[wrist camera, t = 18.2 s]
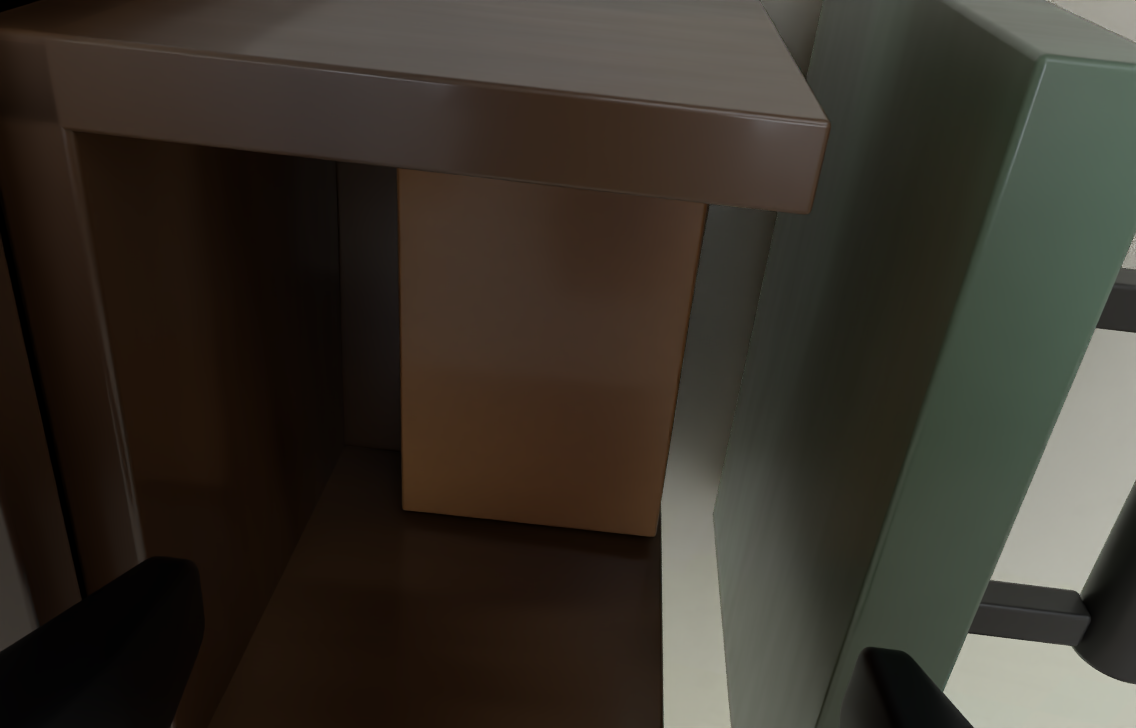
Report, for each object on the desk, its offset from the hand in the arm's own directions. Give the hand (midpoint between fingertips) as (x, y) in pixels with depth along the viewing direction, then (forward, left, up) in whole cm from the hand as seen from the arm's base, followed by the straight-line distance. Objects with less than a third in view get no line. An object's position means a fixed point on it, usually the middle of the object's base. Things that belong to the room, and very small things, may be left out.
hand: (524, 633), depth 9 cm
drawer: (0, +2, -9) cm, 10 cm away
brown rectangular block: (0, -1, -8) cm, 8 cm away
